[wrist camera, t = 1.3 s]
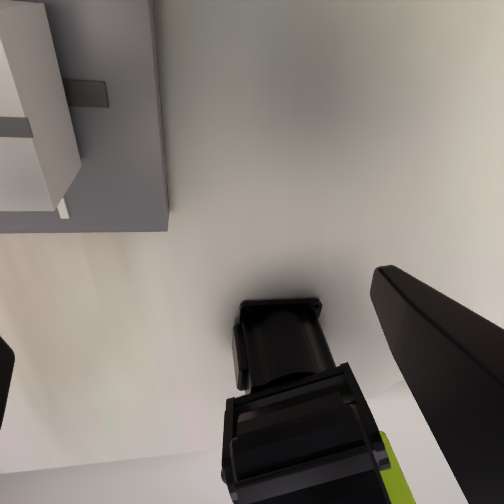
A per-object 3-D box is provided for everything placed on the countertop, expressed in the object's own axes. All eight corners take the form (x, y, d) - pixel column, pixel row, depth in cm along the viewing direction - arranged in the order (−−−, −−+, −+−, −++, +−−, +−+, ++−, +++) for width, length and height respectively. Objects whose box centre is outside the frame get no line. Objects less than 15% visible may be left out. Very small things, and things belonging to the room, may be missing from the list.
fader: (45, 3, 12) (-8, 9, 9) (83, 165, 15) (55, 211, 12) (-56, -6, 11) (-150, -3, 8) (7, 164, 15) (-41, 212, 12)
